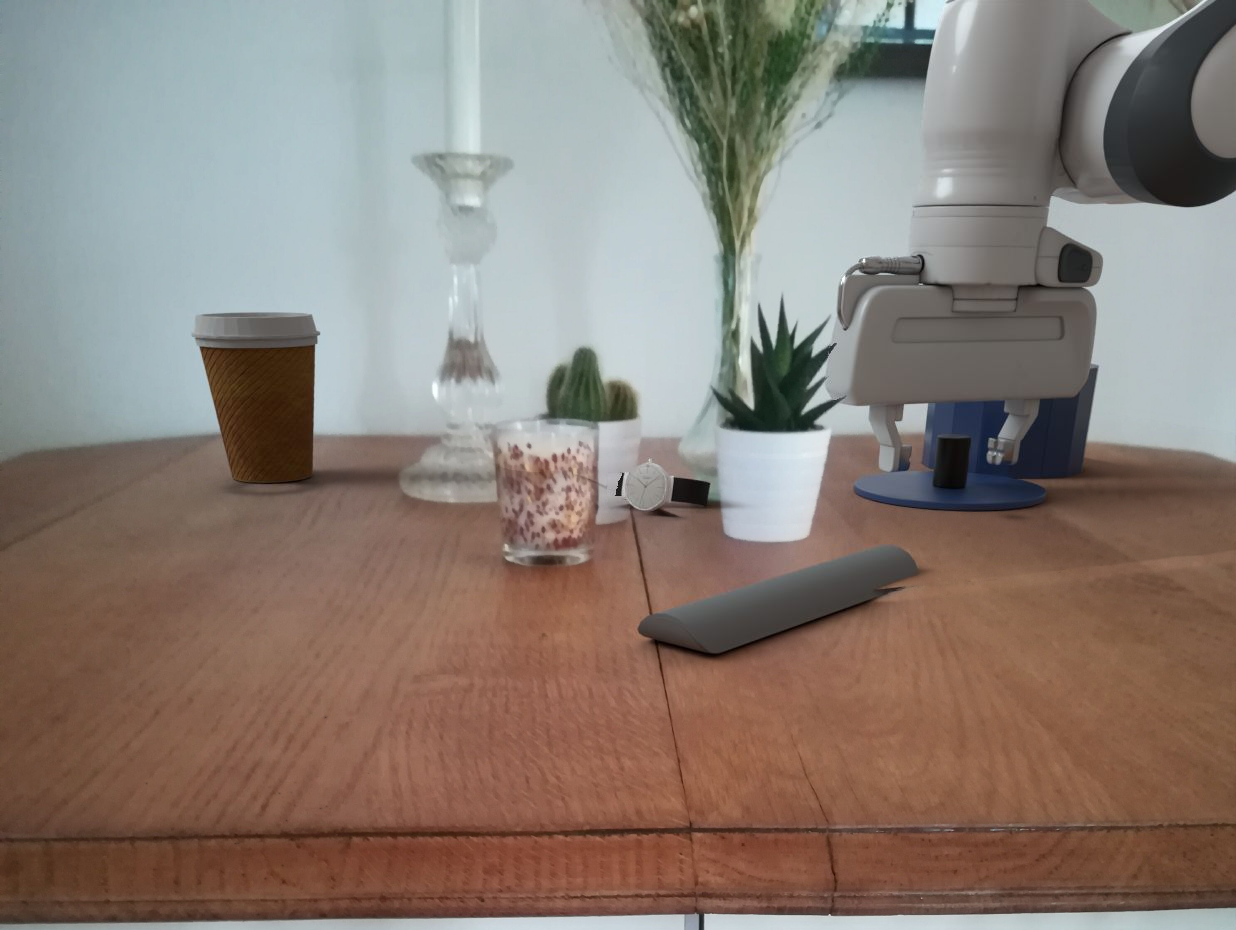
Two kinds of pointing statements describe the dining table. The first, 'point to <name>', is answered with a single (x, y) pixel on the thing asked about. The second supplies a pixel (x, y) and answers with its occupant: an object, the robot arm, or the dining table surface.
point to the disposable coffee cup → (262, 390)
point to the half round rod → (780, 601)
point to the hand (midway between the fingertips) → (948, 467)
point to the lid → (950, 484)
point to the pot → (1043, 449)
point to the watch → (659, 488)
